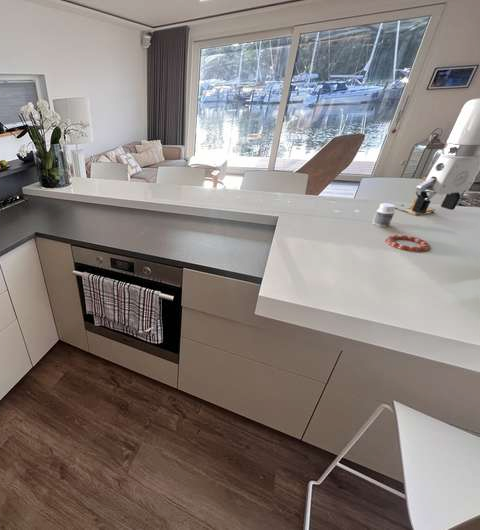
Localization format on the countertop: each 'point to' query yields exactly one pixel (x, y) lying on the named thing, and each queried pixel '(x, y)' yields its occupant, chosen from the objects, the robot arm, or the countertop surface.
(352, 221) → the countertop surface
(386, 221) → the pill bottle
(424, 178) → the stand
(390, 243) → the ring
